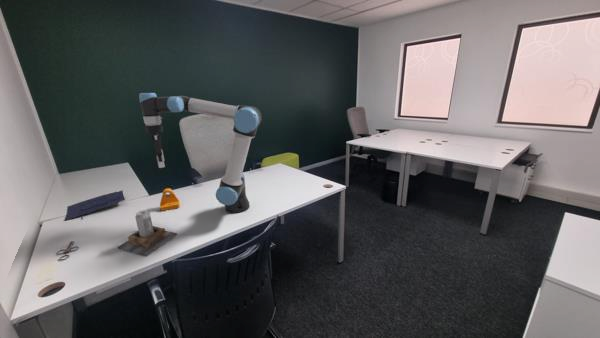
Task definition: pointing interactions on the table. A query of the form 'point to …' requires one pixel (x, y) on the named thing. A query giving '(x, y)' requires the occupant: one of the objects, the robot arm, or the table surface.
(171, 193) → the bracket
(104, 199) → the navy blue flat panel
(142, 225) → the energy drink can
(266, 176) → the table surface
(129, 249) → the can holder
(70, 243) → the grey scissors
